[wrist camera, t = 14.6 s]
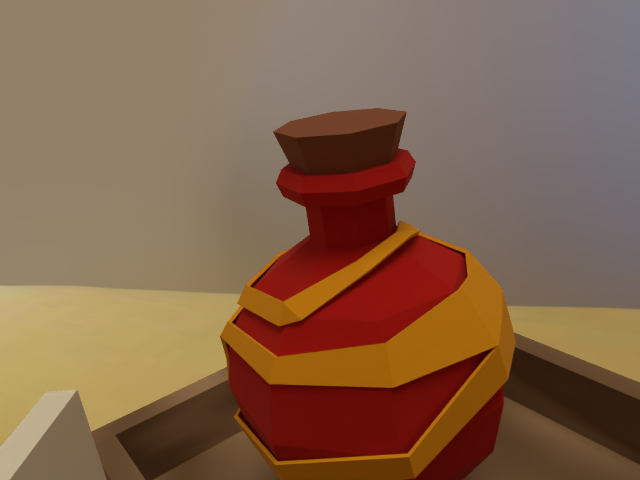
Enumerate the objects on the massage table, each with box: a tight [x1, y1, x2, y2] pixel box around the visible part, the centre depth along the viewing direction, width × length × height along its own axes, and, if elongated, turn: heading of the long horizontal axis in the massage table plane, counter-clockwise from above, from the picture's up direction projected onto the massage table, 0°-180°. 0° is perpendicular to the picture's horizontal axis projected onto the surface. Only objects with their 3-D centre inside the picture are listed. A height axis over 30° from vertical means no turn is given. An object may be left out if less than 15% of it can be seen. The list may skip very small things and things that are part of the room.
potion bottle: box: [220, 108, 516, 480], centre depth 21 cm, size 10×10×15 cm
